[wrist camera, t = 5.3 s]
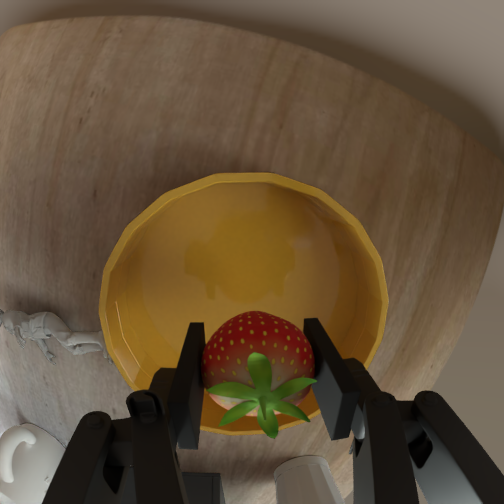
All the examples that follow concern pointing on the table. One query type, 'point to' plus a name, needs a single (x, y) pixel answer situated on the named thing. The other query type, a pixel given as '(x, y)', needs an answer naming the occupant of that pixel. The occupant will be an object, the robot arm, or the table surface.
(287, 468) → the cup
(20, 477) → the mug
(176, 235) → the bowl
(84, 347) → the soldier figure
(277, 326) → the fruit
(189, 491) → the bin
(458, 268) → the table surface
